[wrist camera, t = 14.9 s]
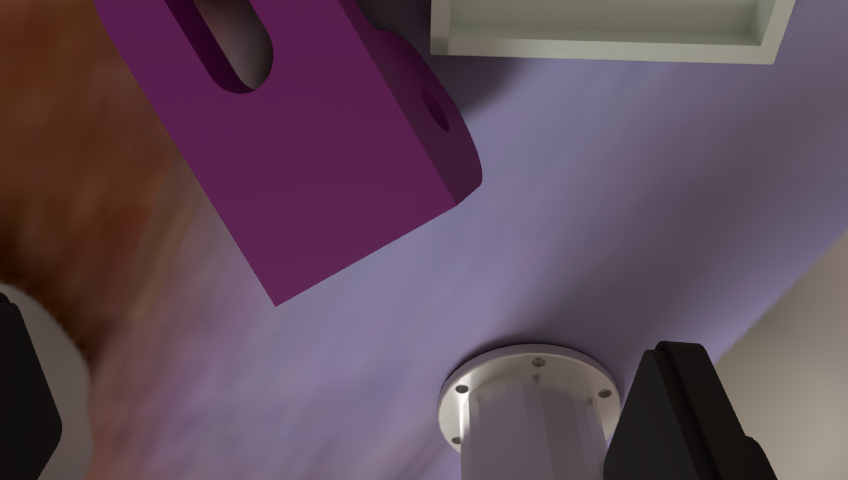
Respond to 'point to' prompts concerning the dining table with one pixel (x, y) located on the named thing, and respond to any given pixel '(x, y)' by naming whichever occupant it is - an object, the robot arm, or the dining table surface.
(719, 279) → the dining table surface
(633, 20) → the tray
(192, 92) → the mounting bracket
